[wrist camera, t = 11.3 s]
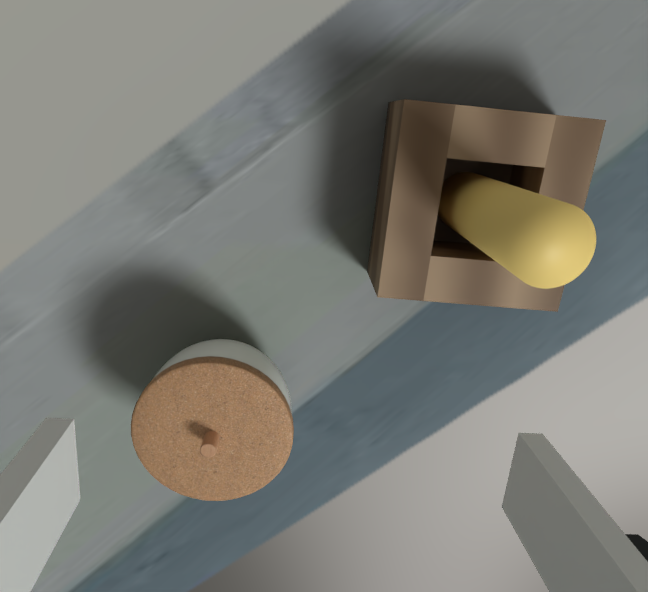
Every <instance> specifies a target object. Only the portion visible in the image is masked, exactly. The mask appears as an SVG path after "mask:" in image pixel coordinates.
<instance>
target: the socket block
mask: <svg viewBox="0 0 648 592" xmlns="http://www.w3.org/2000/svg"><path fill="white" fill-rule="evenodd" d="M605 122H606V120H599V119H589V118H579V117H570V116H560V115H551V114H541V113H532V112H522V111H512V110H503V109H493V108H484V107H474V106H465V105H455V104H445V103H436V102H426V101H417V100H407V99H403V100H398V101H393V102H389V103H388V111H387V119H386V127H385V135H384V143H383V150H382V158H381V166H380V174H379V182H378V190H377V198H376V206H375V214H374V222H373V230H372V237H371V245H370V253H369V261H368V269H367V272H368V275H369V277H370V280H371V282H372V284H373V287H374V289H375V292H376V294H377V297H383V298H395V299H407V300H420V301H432V302H445V303H457V304H470V305H482V306H495V307H507V308H519V309H532V310H544V311H557V312H558V308H559V305H560V301H561V297H562V293H563V289H564V285H562V286H560V287H556V288H549V289H542V288H536V287H533V286H530V285H528V284H526V283H524V282H523V281H522V280H520V279H519V278H518V277H516V276H515V275H513V274H512V273H511V272H509V271H508V270H507V269H505V268H504V267H503V266H501V265H500V264H499V263H497V262H496V261H495V260H493V259H492V258H491V257H489V256H488V255H487V254H485V253H484V252H483V251H481V250H480V249H479V248H477V247H476V246H475V245H473V244H472V243H471V242H469V241H468V240H467V239H465V238H464V237H463V236H461V235H460V234H459V233H457V232H456V231H454V230H453V229H452V228H450V227H449V226H448V225H446V224H445V223H444V222H443V221H442V220H441V219H440V217H439V216H438V209H439V203H440V197H441V191H442V185H443V182H444V181H445V180H446V179H447V178H449V177H450V176H452V175H454V174H456V173H460V172H472V173H476V174H479V175H482V176H485V177H488V178H491V179H494V180H497V181H500V182H504V183H507V184H510V185H513V186H516V187H519V188H522V189H525V190H529V191H532V192H535V193H538V194H541V195H544V196H547V197H550V198H553V199H557V200H560V201H563V202H566V203H569V204H572V205H575V206H577V207H579V208H580V209H582V210H583V209H584V206H585V202H586V198H587V194H588V190H589V186H590V182H591V178H592V174H593V170H594V166H595V162H596V158H597V154H598V150H599V146H600V142H601V138H602V134H603V130H604V126H605Z"/></svg>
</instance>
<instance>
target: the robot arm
mask: <svg viewBox="0 0 648 592" xmlns="http://www.w3.org/2000/svg"><path fill="white" fill-rule="evenodd" d="M79 501H80V489H79V476H78V463H77V450H76V437H75V424H74V419H61V418H46V419H45V420H44V421H43V422H42V424H41V425H40V426H39V427H38V428H37V430H36V431H35V432H34V433H33V435H32V436H31V437H30V438H29V440H28V441H27V442H26V443H25V445H24V446H23V447H22V448H21V450H20V451H19V452H18V453H17V455H16V456H15V457H14V458H13V460H12V461H11V462H10V463H9V465H8V466H7V467H6V468H5V470H4V471H3V472H2V473H1V475H0V592H30V591H31V590H32V588H33V586H34V584H35V582H36V580H37V579H38V577H39V575H40V573H41V571H42V569H43V567H44V566H45V564H46V562H47V560H48V558H49V556H50V554H51V553H52V551H53V549H54V547H55V545H56V543H57V541H58V540H59V538H60V536H61V534H62V532H63V530H64V529H65V527H66V525H67V523H68V521H69V519H70V517H71V516H72V514H73V512H74V510H75V508H76V506H77V504H78V503H79ZM502 508H503V510H504V512H505V513H506V515H507V517H508V519H509V521H510V522H511V524H512V526H513V528H514V529H515V531H516V533H517V535H518V537H519V538H520V540H521V542H522V544H523V545H524V547H525V549H526V551H527V553H528V554H529V556H530V558H531V560H532V562H533V563H534V565H535V567H536V569H537V570H538V572H539V574H540V576H541V578H542V579H543V581H544V583H545V585H546V586H547V588H548V590H549V592H648V542H647V541H646V540H645V539H643V538H642V537H641V536H639V535H631V534H629V535H628V534H624V532H623V531H622V530H621V529H620V527H619V526H618V525H617V524H616V523H615V521H614V520H613V519H612V518H611V517H610V515H609V514H608V513H607V512H606V510H605V509H604V508H603V507H602V506H601V504H600V503H599V502H598V501H597V499H596V498H595V497H594V496H593V495H592V494H591V492H590V491H589V490H588V489H587V487H586V486H585V485H584V484H583V482H582V481H581V480H580V479H579V478H578V477H577V476H576V474H575V473H574V471H573V470H572V469H571V468H570V467H569V465H568V464H567V463H566V462H565V461H564V460H563V458H562V457H561V456H560V455H559V453H558V452H557V451H556V450H555V448H554V447H553V446H552V445H551V444H550V442H549V441H548V440H547V439H546V438H545V436H544V435H543V434H534V433H532V434H531V433H519V434H518V438H517V442H516V447H515V451H514V456H513V460H512V464H511V469H510V473H509V478H508V482H507V486H506V491H505V496H504V500H503V505H502Z"/></svg>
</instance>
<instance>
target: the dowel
mask: <svg viewBox="0 0 648 592" xmlns="http://www.w3.org/2000/svg"><path fill="white" fill-rule="evenodd" d="M438 216H439V217H440V219H441V220H442V221H443V222H444V223H445V224H446V225H448V226H449V227H450V228H452V229H453V230H454V231H456V232H457V233H459V234H460V235H461V236H463V237H464V238H465V239H467V240H468V241H469V242H471V243H472V244H473V245H475V246H476V247H477V248H479V249H480V250H481V251H483V252H484V253H485V254H487V255H488V256H489V257H491V258H492V259H493V260H495V261H496V262H497V263H499V264H500V265H501V266H503V267H504V268H505V269H507V270H508V271H509V272H511V273H512V274H513V275H515V276H516V277H518V278H519V279H520V280H522V281H523V282H524V283H526V284H528V285H530V286H533V287H536V288H542V289H549V288H556V287H560V286H562V285H565V284H567V283H569V282H571V281H572V280H574V279H575V278H576V277H578V276H579V275H580V274H581V273H582V272H583V271H584V270H585V268H586V267H587V266H588V264H589V263H590V261H591V259H592V257H593V254H594V251H595V246H596V232H595V228H594V225H593V222H592V221H591V219H590V217H589V216H588V215H587V214H586V213H585V212H584V211H583V210H582V209H580V208H579V207H577V206H575V205H572V204H569V203H566V202H563V201H560V200H557V199H553V198H550V197H547V196H544V195H541V194H538V193H535V192H532V191H529V190H525V189H522V188H519V187H516V186H513V185H510V184H507V183H504V182H500V181H497V180H494V179H491V178H488V177H485V176H482V175H479V174H476V173H472V172H460V173H456V174H454V175H452V176H450V177H449V178H447V179H446V180H445V181H444V182H443V185H442V191H441V197H440V203H439V209H438Z"/></svg>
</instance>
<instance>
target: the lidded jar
mask: <svg viewBox="0 0 648 592" xmlns="http://www.w3.org/2000/svg"><path fill="white" fill-rule="evenodd" d="M293 431H294V428H293V418H292V406H291V399H290V395H289V391H288V388H287V385H286V382H285V380H284V378H283V376H282V374H281V372H280V371H279V369H278V368H277V366H276V365H275V364H274V363H273V362H272V361H271V360H270V359H269V358H268V357H267V356H266V355H265V354H264V353H262V352H261V351H260V350H258V349H256V348H254V347H253V346H251V345H248V344H246V343H243V342H240V341H235V340H229V339H215V340H208V341H203V342H199V343H196V344H194V345H191V346H189V347H187V348H185V349H184V350H182V351H180V352H179V353H177V354H176V355H174V356H173V357H172V358H171V359H170V360H168V361H167V362H166V363H165V364H164V365H163V366H162V368H161V369H160V370H159V371H158V372H157V374H156V375H155V376H154V378H153V379H152V380H151V382H150V383H149V384H148V385H147V386H146V388H145V389H144V390H143V392H142V394H141V396H140V397H139V399H138V401H137V403H136V405H135V408H134V411H133V414H132V421H131V436H132V441H133V445H134V448H135V451H136V453H137V455H138V457H139V459H140V461H141V462H142V464H143V465H144V467H145V468H146V469H147V470H148V471H149V473H150V474H151V475H152V476H153V477H154V478H155V479H157V480H158V481H159V482H160V483H161V484H163V485H164V486H166V487H168V488H169V489H171V490H173V491H175V492H177V493H179V494H181V495H185V496H188V497H191V498H195V499H201V500H210V501H221V500H231V499H235V498H240V497H243V496H246V495H248V494H251V493H253V492H255V491H257V490H259V489H261V488H262V487H264V486H265V485H266V484H268V483H269V482H271V481H272V480H273V479H274V478H275V477H276V476H277V475H278V474H279V472H280V471H281V469H282V468H283V467H284V465H285V464H286V461H287V459H288V457H289V455H290V452H291V448H292V444H293Z"/></svg>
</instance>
